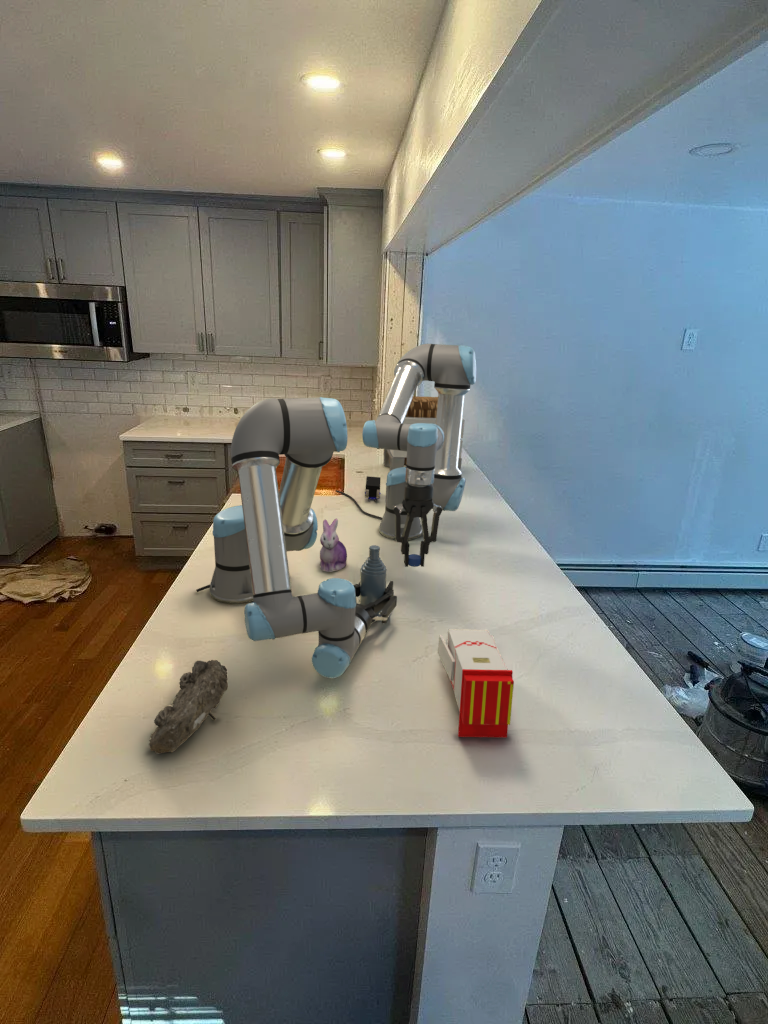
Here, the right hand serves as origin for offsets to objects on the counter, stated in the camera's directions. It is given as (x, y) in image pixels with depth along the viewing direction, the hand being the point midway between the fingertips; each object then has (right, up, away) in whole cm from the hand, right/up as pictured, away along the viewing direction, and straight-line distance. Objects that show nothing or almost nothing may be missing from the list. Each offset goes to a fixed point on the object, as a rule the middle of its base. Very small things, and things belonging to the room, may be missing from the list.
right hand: (413, 564), depth 157 cm
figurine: (-24, -2, +16) cm, 29 cm away
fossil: (-44, -25, -49) cm, 70 cm away
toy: (+10, -23, -38) cm, 46 cm away
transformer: (+9, +33, +118) cm, 123 cm away
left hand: (-10, -4, -7) cm, 13 cm away
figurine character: (-13, +20, +79) cm, 83 cm away
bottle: (-11, -12, -10) cm, 19 cm away
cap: (0, +2, -1) cm, 2 cm away
